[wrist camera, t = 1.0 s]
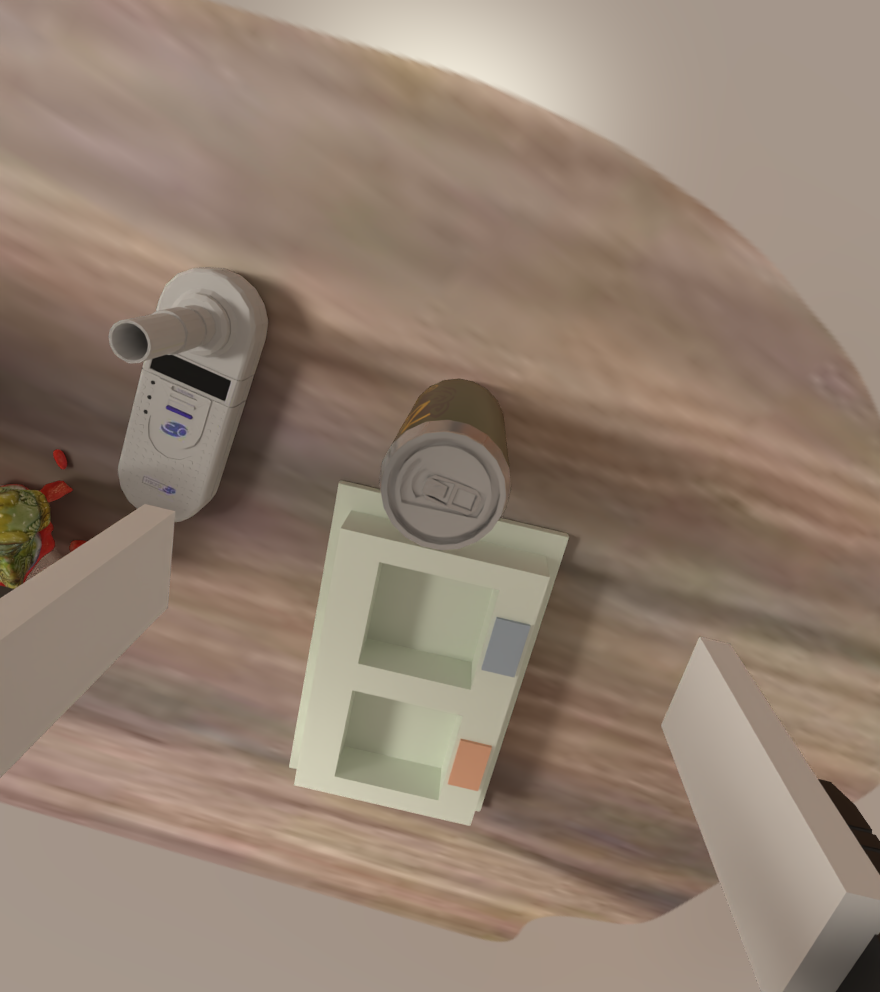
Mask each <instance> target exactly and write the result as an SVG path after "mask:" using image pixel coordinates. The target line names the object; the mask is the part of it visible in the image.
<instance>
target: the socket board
mask: <svg viewBox="0 0 880 992" xmlns="http://www.w3.org/2000/svg"><path fill="white" fill-rule="evenodd" d="M568 539H569V536H568V534H567V533H563V532H559V531H554V530H550V529H546V528H542V527H537V526H533V525H529V524H525V523H520V522H516V521H512V520H508V519H503V518H499V520H498V521H497V523H496V524H495V526H494V527H493V529H492V530H491V531H490V532H489V533H488V534H486V535H485V536H484V537H483V538H481V539H480V540H479V541H478V542H476V543H473V544H470V545H468V546H465V547H463V548H460V549H450V550H437V549H432V548H428V547H423V546H420V545H419V544H417V543H415V542H413V541H411V540H409V539H408V538H406V537H404V536H403V535H402V534H401V532H400V531H399V530H398V529H397V528H396V527H395V526H394V525H393V524H392V523H391V521H390V519H389V517H388V515H387V513H386V511H385V509H384V507H383V501H382V496H381V490H380V489H376V488H372V487H368V486H363V485H359V484H355V483H351V482H346V481H342V480H341V481H340V482H339V485H338V491H337V496H336V502H335V508H334V514H333V519H332V525H331V531H330V536H329V542H328V548H327V554H326V559H325V565H324V571H323V576H322V582H321V588H320V594H319V599H318V605H317V611H316V616H315V622H314V628H313V634H312V639H311V645H310V651H309V656H308V662H307V668H306V674H305V679H304V685H303V691H302V696H301V702H300V708H299V714H298V719H297V725H296V731H295V736H294V742H293V748H292V754H291V759H290V765H289V767H290V768H294V769H297V772H296V777H295V783H294V785H296V786H300V787H305V788H309V789H313V790H317V791H322V792H326V793H330V794H335V795H339V796H343V797H348V798H352V799H356V800H361V801H365V802H369V803H373V804H378V805H382V806H386V807H391V808H395V809H399V810H404V811H408V812H412V813H417V814H421V815H425V816H430V817H434V818H438V819H442V820H447V821H451V822H455V823H460V824H464V825H468V826H470V825H471V822H472V819H473V816H474V813H475V811H480V810H481V807H482V804H483V801H484V798H485V795H486V791H487V788H488V785H489V782H490V779H491V776H492V773H493V770H494V767H495V764H496V761H497V758H498V755H499V751H500V748H501V745H502V742H503V739H504V736H505V733H506V730H507V727H508V724H509V721H510V718H511V715H512V711H513V708H514V705H515V702H516V699H517V696H518V693H519V690H520V687H521V684H522V681H523V678H524V674H525V671H526V668H527V665H528V662H529V659H530V656H531V653H532V650H533V647H534V644H535V641H536V638H537V634H538V631H539V628H540V625H541V622H542V619H543V616H544V613H545V610H546V607H547V604H548V601H549V597H550V594H551V591H552V588H553V585H554V582H555V579H556V576H557V573H558V570H559V567H560V564H561V561H562V557H563V554H564V551H565V548H566V545H567V542H568Z"/></svg>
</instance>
